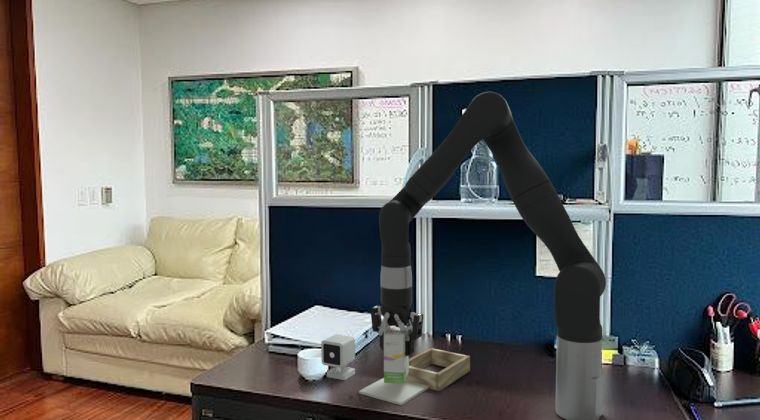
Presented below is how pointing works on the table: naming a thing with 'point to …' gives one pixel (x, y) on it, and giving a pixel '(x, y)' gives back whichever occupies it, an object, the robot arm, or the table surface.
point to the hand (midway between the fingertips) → (396, 352)
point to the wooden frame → (452, 361)
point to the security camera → (338, 355)
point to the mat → (394, 391)
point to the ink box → (395, 355)
